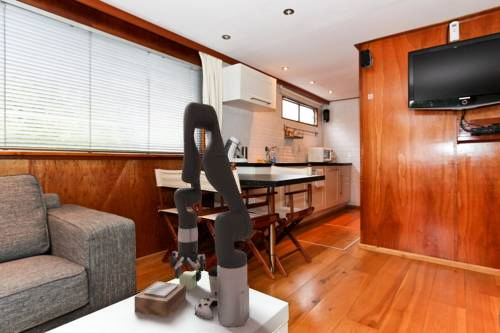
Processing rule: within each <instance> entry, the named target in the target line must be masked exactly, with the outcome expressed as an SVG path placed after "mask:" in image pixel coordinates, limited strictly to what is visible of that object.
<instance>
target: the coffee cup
mask: <svg viewBox="0 0 500 333" xmlns="http://www.w3.org/2000/svg"><path fill="white" fill-rule="evenodd" d="M207 274H208V282H209V288H210V289H209V290H210V295H211V297H210V298H215V299H217V265H216V266H212V267H211V268H210V269H209V270H208V272H207Z"/></svg>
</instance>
